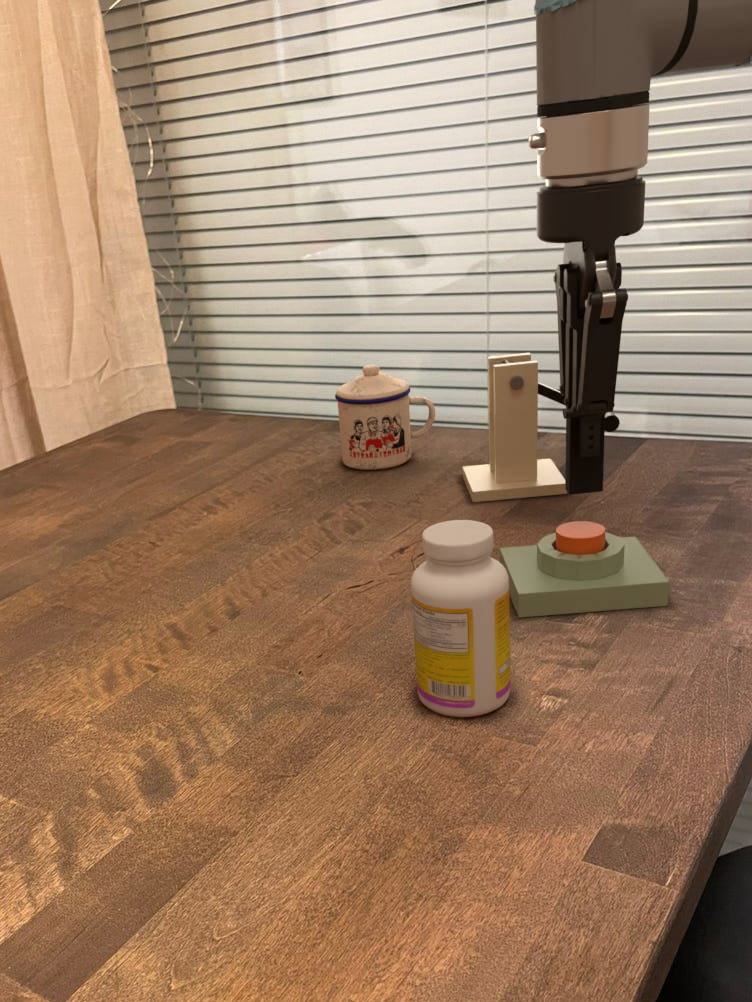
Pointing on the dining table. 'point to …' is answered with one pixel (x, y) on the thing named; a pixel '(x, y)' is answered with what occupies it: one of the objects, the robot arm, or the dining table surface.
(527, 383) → the lever stand
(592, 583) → the button box
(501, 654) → the supplement bottle
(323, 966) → the dining table surface
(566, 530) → the button
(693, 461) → the dining table surface
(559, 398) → the black lever
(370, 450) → the teacup with lid
